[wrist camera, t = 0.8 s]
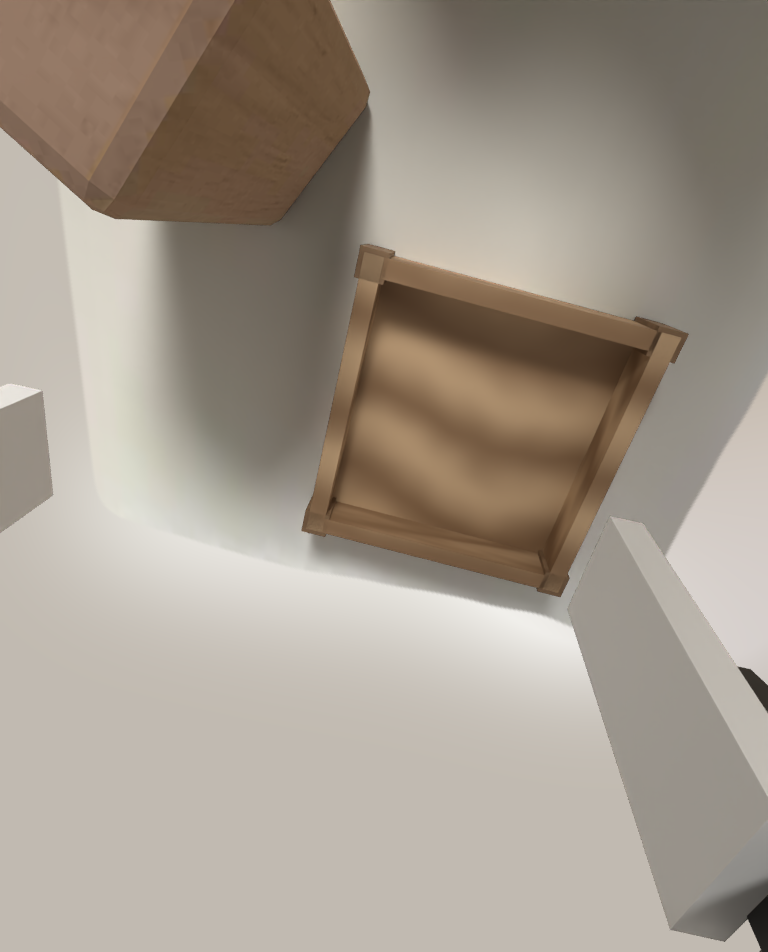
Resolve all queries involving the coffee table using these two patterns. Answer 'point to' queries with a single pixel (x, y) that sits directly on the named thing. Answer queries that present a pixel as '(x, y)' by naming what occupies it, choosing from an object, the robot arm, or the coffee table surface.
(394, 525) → the crate
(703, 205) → the coffee table surface
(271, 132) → the wooden block
